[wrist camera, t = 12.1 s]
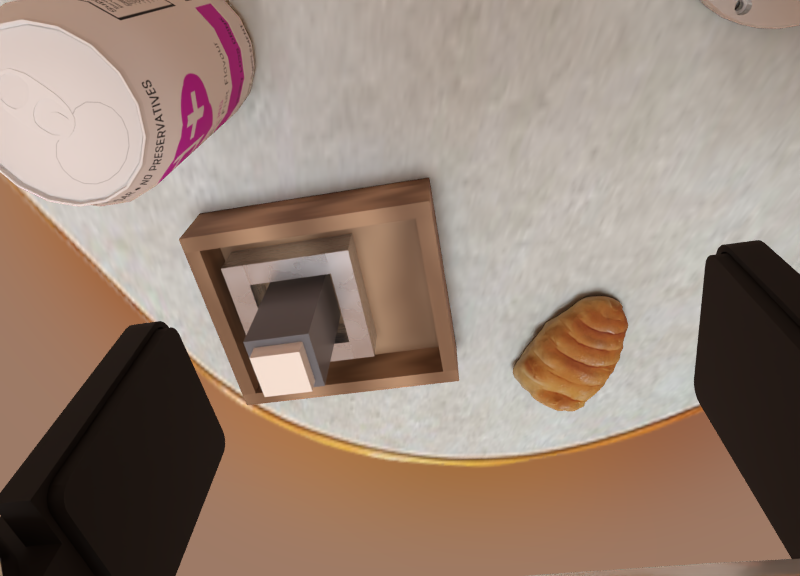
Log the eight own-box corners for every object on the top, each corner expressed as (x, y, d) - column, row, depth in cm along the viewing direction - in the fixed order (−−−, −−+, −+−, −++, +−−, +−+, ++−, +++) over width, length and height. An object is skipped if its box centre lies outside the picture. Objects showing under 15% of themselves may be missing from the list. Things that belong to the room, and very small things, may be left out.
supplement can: (283, 44, 34) (200, 106, 22) (212, 148, 38) (104, 256, 25) (161, -58, 32) (-16, -57, 19) (97, 63, 35) (-90, 133, 23)
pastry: (566, 275, 42) (579, 303, 39) (646, 307, 43) (664, 337, 40) (505, 368, 47) (512, 401, 43) (578, 395, 48) (590, 428, 45)
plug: (340, 314, 43) (322, 396, 35) (288, 321, 43) (259, 404, 36) (327, 267, 41) (305, 343, 33) (273, 275, 41) (238, 352, 34)
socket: (352, 233, 40) (347, 250, 37) (376, 336, 44) (374, 356, 42) (231, 251, 41) (220, 268, 38) (267, 349, 45) (259, 370, 43)
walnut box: (429, 177, 38) (429, 201, 35) (456, 347, 45) (459, 380, 42) (199, 213, 40) (179, 239, 37) (259, 371, 47) (247, 405, 44)
